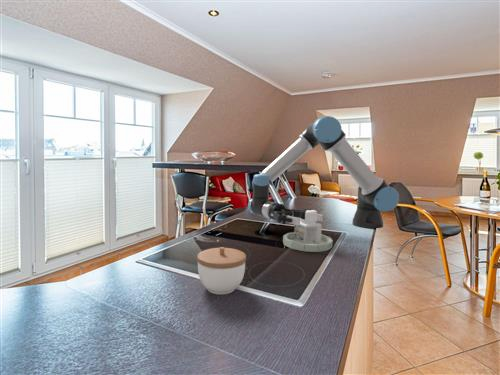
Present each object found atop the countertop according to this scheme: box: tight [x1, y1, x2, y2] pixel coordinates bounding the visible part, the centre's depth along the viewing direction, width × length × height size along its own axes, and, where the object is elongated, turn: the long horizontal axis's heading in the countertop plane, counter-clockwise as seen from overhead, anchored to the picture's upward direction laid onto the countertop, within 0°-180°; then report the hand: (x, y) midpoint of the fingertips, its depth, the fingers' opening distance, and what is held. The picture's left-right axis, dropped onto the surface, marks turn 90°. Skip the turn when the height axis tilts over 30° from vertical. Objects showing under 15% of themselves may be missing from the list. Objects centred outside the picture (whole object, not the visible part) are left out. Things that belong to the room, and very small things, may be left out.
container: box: [293, 208, 323, 244], centre depth 122 cm, size 8×8×13 cm
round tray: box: [282, 231, 334, 253], centre depth 123 cm, size 19×19×2 cm
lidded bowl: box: [196, 246, 247, 296], centre depth 80 cm, size 13×13×11 cm
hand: (311, 220), depth 120 cm, fingers open, 13 cm apart
